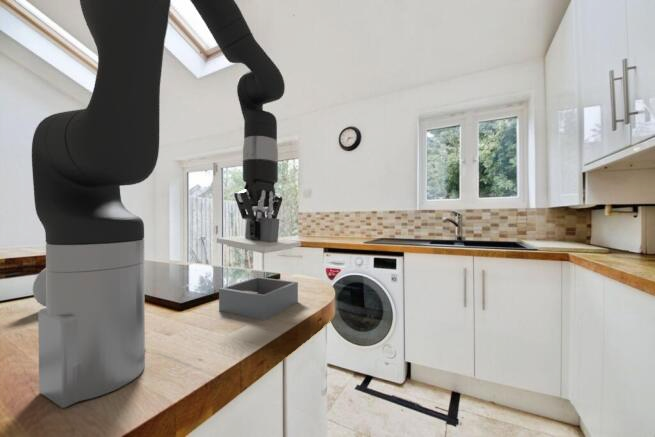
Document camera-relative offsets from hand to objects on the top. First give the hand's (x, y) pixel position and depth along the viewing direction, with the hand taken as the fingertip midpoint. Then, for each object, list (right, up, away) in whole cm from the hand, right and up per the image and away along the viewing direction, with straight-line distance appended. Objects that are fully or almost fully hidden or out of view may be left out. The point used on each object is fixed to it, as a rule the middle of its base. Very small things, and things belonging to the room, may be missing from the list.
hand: (260, 239), depth 59 cm
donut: (-45, -15, +1) cm, 48 cm away
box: (0, -15, 0) cm, 15 cm away
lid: (0, -2, 0) cm, 2 cm away
